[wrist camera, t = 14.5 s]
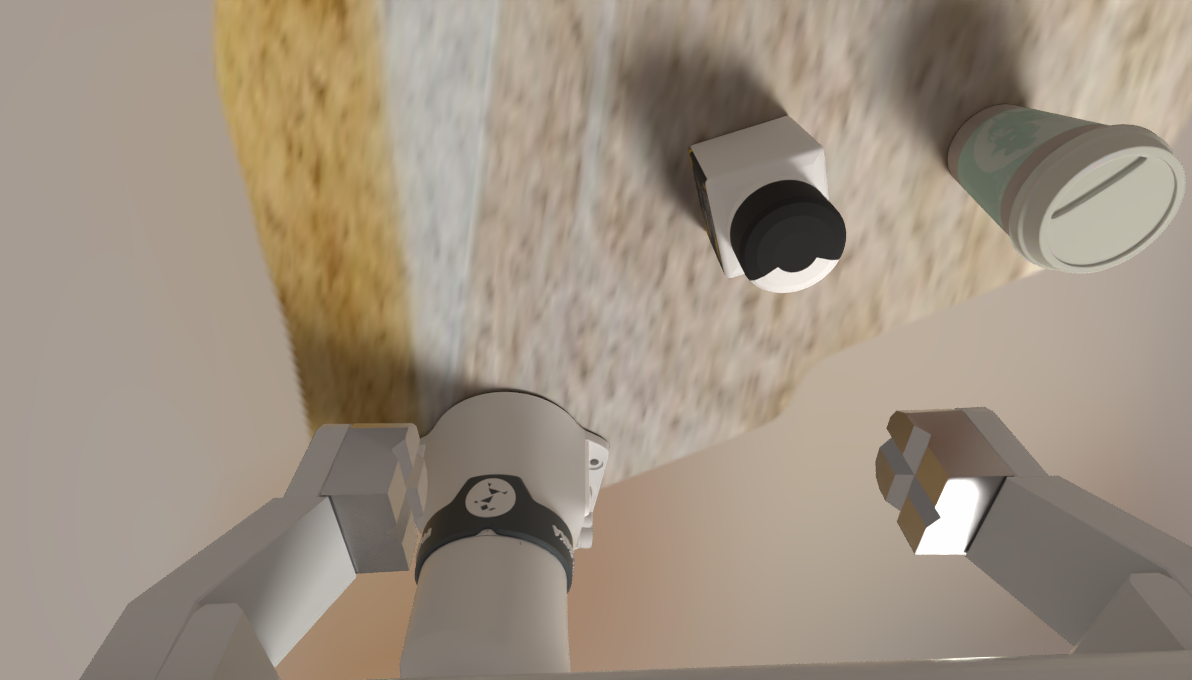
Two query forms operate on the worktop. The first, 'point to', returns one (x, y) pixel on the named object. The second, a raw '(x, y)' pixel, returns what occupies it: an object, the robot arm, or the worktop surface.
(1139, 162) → the coffee cup
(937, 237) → the worktop surface
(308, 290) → the worktop surface
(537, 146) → the worktop surface
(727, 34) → the worktop surface
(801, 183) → the medicine bottle
